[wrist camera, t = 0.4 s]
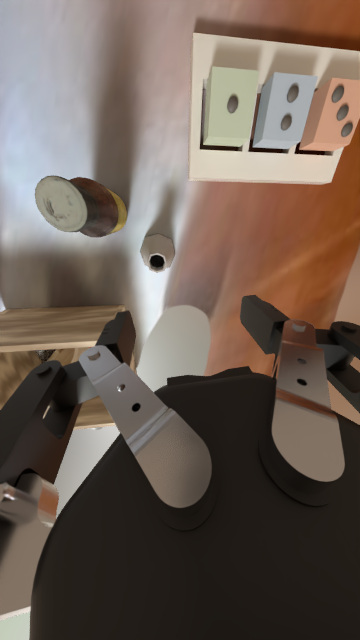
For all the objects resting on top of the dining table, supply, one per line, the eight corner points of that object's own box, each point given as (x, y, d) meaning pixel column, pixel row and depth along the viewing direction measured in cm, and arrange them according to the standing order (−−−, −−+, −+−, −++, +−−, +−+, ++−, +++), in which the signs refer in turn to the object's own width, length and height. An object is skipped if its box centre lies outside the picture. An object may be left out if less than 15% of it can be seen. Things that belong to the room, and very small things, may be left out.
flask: (140, 231, 33) (133, 235, 24) (176, 235, 34) (181, 240, 25) (140, 268, 37) (134, 283, 28) (173, 271, 38) (177, 286, 29)
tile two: (262, 88, 24) (275, 70, 21) (301, 91, 24) (320, 74, 21) (252, 147, 27) (263, 138, 24) (287, 149, 27) (302, 140, 24)
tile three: (314, 92, 24) (334, 75, 22) (351, 95, 25) (375, 79, 22) (298, 149, 27) (314, 141, 25) (332, 151, 28) (351, 143, 25)
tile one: (206, 83, 23) (213, 64, 20) (248, 87, 23) (260, 68, 21) (203, 144, 26) (208, 135, 23) (240, 146, 26) (249, 137, 24)
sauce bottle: (90, 221, 31) (7, 223, 14) (97, 183, 29) (6, 130, 12) (125, 238, 33) (88, 256, 16) (134, 203, 31) (103, 182, 14)
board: (190, 46, 23) (193, 32, 21) (362, 64, 25) (377, 53, 23) (187, 180, 30) (189, 177, 28) (321, 184, 32) (330, 182, 30)
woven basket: (5, 309, 38) (-65, 350, 26) (124, 304, 40) (109, 340, 29) (50, 385, 52) (17, 435, 40) (137, 378, 54) (131, 423, 42)
